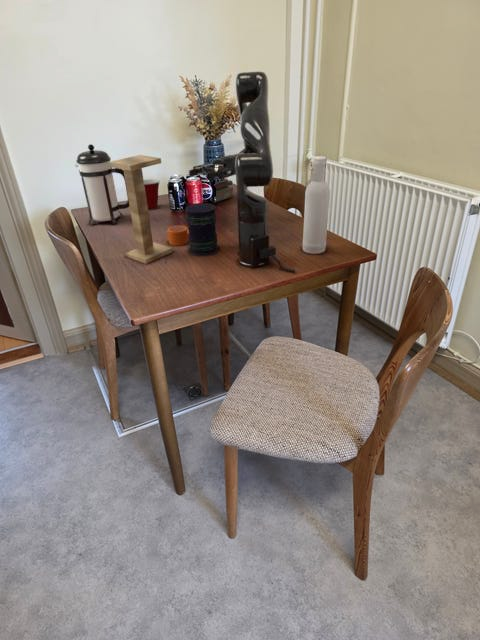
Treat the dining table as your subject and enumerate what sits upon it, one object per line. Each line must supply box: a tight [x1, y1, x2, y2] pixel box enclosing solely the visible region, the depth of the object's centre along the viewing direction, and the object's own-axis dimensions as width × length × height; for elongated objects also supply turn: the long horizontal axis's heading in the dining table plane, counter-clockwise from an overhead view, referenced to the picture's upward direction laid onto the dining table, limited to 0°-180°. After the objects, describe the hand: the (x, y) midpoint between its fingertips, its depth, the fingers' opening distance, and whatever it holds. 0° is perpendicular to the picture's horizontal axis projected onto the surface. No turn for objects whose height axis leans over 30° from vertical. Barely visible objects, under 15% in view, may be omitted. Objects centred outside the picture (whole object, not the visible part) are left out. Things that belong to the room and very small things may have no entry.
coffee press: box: [74, 144, 130, 226], centre depth 169 cm, size 17×16×30 cm
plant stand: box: [109, 154, 173, 265], centre depth 136 cm, size 12×10×31 cm
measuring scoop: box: [166, 225, 189, 247], centre depth 156 cm, size 19×7×5 cm, turn 141°
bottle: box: [302, 155, 331, 255], centre depth 136 cm, size 8×8×30 cm
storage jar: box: [185, 202, 218, 256], centre depth 143 cm, size 10×10×15 cm
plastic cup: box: [143, 178, 161, 211], centre depth 187 cm, size 11×11×12 cm
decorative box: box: [204, 177, 234, 204], centre depth 192 cm, size 13×20×10 cm, turn 134°
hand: (198, 175), depth 151 cm, fingers open, 8 cm apart
